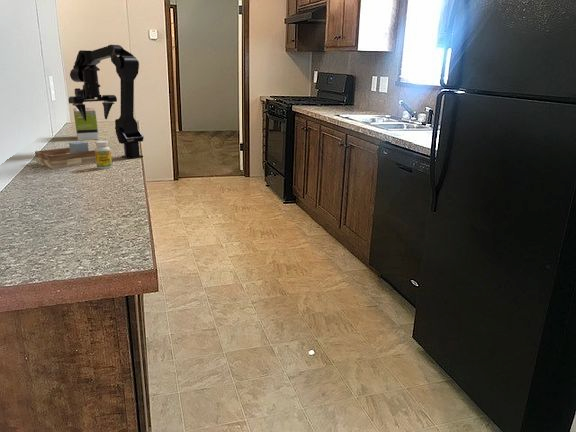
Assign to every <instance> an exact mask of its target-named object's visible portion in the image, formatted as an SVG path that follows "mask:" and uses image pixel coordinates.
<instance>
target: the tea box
mask: <svg viewBox="0 0 576 432" xmlns="http://www.w3.org/2000/svg"><path fill="white" fill-rule="evenodd" d="M85 109H86V121H84V119H83V117H82V115H81V113H80V111H79V110H78V108H77V107H75V108H73V115H74V116H73V117H74V123H75V131H76V137H77V140H79V141H92V140H91V139H97V140H99V139H100V138H99V130H98V123H97V122H98V121H97V114H96V110H95V108H94V107H85Z"/></svg>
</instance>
